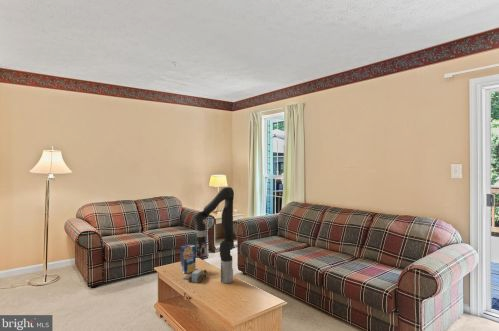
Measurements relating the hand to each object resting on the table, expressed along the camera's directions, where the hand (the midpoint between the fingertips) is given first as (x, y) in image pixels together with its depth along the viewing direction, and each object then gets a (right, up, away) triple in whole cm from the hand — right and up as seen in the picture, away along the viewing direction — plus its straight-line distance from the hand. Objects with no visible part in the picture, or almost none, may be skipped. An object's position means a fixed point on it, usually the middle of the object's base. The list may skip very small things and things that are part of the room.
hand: (201, 255), depth 254 cm
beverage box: (-14, -18, +13) cm, 26 cm away
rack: (-2, -18, -7) cm, 19 cm away
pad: (-8, -18, -3) cm, 20 cm away
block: (-2, -18, -9) cm, 20 cm away
